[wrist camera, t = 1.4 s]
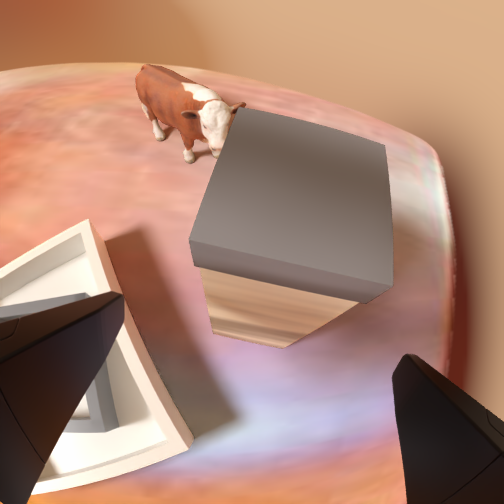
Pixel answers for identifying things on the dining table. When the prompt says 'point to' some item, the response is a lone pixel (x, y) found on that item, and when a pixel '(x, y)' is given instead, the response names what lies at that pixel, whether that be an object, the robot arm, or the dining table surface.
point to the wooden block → (292, 228)
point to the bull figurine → (184, 108)
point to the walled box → (109, 376)
